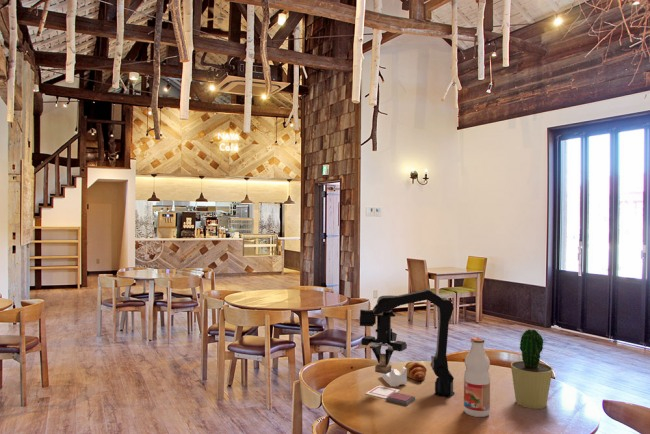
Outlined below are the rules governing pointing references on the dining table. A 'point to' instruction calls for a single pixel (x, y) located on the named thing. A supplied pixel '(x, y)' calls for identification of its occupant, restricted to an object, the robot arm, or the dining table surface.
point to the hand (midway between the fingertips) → (383, 363)
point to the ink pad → (400, 398)
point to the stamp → (383, 365)
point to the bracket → (396, 377)
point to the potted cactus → (531, 373)
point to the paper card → (382, 391)
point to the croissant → (416, 370)
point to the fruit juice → (477, 380)
